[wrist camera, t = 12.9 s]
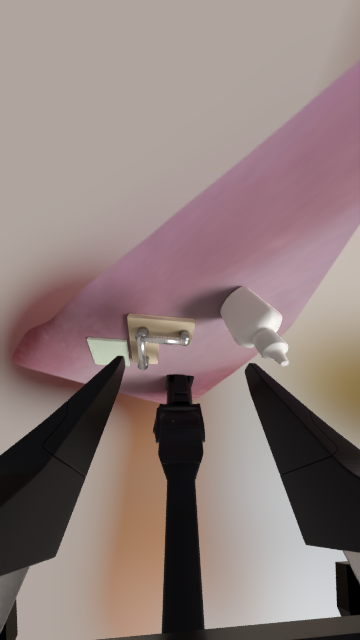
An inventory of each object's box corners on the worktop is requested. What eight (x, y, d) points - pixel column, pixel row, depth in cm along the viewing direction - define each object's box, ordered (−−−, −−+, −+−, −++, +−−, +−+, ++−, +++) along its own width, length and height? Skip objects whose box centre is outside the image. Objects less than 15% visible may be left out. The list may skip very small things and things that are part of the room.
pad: (130, 363, 29) (129, 366, 29) (96, 361, 29) (95, 364, 28) (126, 339, 26) (125, 342, 25) (88, 337, 25) (86, 339, 24)
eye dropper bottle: (255, 304, 22) (322, 366, 12) (223, 319, 23) (257, 385, 13) (248, 281, 20) (321, 333, 10) (213, 300, 21) (245, 361, 11)
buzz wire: (185, 361, 29) (186, 376, 26) (134, 357, 28) (128, 373, 25) (194, 318, 23) (197, 332, 20) (129, 313, 22) (121, 326, 19)
